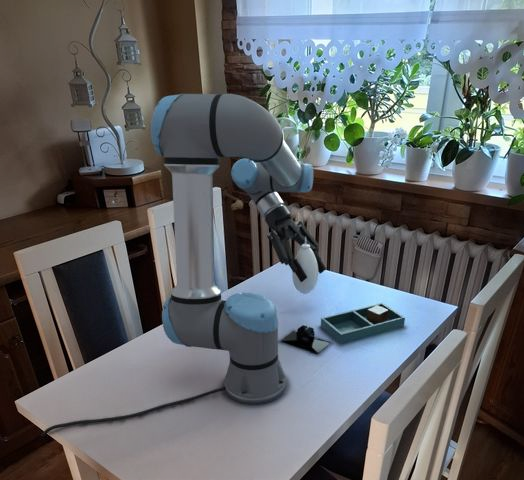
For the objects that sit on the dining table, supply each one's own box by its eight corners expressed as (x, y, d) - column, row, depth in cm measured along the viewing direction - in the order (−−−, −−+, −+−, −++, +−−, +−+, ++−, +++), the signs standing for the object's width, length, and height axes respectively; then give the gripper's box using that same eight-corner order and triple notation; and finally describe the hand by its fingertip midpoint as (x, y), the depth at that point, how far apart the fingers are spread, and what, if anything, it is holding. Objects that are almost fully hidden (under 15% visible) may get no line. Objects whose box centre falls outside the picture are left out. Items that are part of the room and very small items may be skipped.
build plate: (330, 343, 137) (331, 329, 135) (317, 355, 132) (317, 340, 130) (293, 331, 144) (293, 317, 141) (279, 342, 139) (279, 328, 136)
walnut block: (377, 327, 143) (379, 314, 141) (366, 322, 146) (367, 309, 144) (387, 323, 146) (388, 309, 143) (375, 317, 149) (377, 305, 146)
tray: (340, 344, 136) (341, 334, 135) (320, 327, 145) (320, 317, 143) (403, 327, 143) (405, 317, 142) (381, 312, 152) (382, 302, 151)
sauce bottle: (320, 289, 153) (322, 233, 143) (314, 299, 147) (315, 241, 137) (296, 286, 155) (296, 231, 146) (289, 296, 149) (288, 239, 140)
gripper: (291, 211, 156) (328, 271, 154) (243, 227, 144) (283, 292, 142) (304, 197, 150) (343, 259, 148) (255, 212, 138) (296, 280, 136)
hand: (313, 275), depth 145 cm, fingers closed on sauce bottle, 8 cm apart
